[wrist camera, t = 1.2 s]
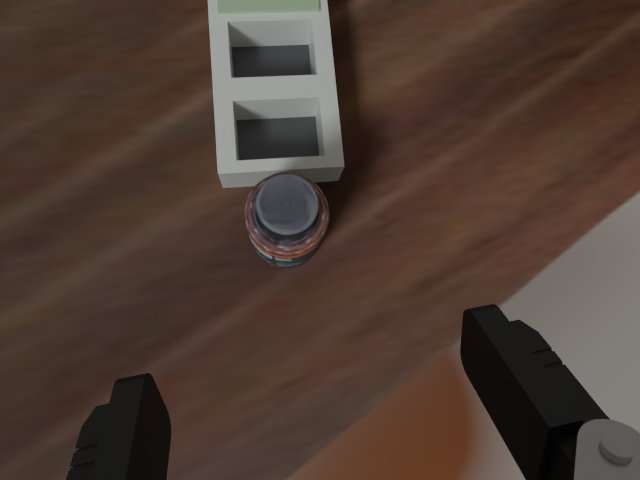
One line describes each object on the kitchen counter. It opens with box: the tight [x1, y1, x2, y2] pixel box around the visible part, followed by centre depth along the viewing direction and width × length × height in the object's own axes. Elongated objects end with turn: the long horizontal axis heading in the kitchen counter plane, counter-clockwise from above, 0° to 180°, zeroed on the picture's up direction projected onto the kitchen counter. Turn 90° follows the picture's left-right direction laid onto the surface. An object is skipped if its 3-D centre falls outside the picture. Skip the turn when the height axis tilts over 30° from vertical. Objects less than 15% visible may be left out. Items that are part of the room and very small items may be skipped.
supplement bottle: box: [244, 172, 329, 268], centre depth 35 cm, size 6×6×11 cm
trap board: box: [208, 0, 344, 188], centre depth 41 cm, size 10×22×4 cm, turn 5°
